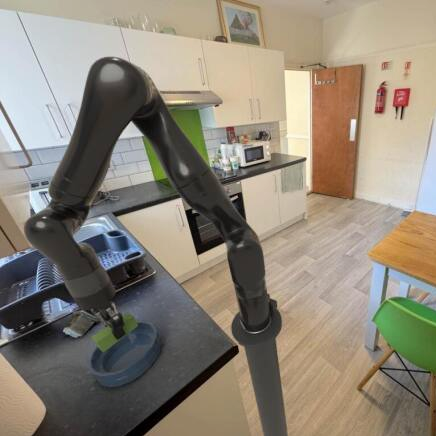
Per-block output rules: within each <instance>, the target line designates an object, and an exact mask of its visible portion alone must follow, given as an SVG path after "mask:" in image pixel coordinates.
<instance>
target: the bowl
mask: <svg viewBox="0 0 436 436" xmlns="http://www.w3.org/2000/svg"><path fill="white" fill-rule="evenodd" d="M136 322H137V324H138V326H137V327H136V328H135V329H133V330H132V331H131V332H129V333H128V334H127V335H125V336H124V337H123V338H122V339H120V340H119V341H118V342H116V343H115V344H114V345H112V346H111V347H110V348H109V349H107V350H106V351H105V352H102V351H101V350H100V349H99V348H98V347H97V345H96V346H95V347H94V348H93V350H92V351H91V353H90V355H89V359H88V362H87V365H88V369H89V372H90V373H91V375H92V376H93V378H94V379H95V380H96V381H97V382H98V384H99V385H100V386H103V387H107V388H115V387H121V386H123V385H126V384H128V383H131V382H133V381H134V380H136V379H137V378H139V377H140V376H142V375H143V374H144V373H145V372H146V371H148V370H149V369H150V368H151V367H152V365H154V363H155V361H156V360H157V359H158V357H159V355H160V353H161V350H162V339H161V337H160V335H159V333H158V330H157V328H156V326H155V325H154V324H153V323H151V322H149V321H144V320H142V321H136Z"/></svg>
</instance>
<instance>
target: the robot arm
mask: <svg viewBox="0 0 436 436" xmlns="http://www.w3.org/2000/svg"><path fill="white" fill-rule="evenodd" d="M84 84H85V85H84V88H83V94H82V99H81V102H80V103H81V104H80V108H79V111H78V116H77V119H76V122H75V125H74V128H73V131H72V134H71V137H70V139H69V142H68V145H67V147H66V149H65V152H64V154H63V156H62V157H61V160H60V162H59V164H58V166H57V168H56V170H55V172H54V174H53V176H52V178H51V180H50V182H49V185H48V189H47V190H48V191H47V193H48V195H49V197H50V201H49V202H48V204H47V205H46V207H44V208H43V209H42V210H40V211H38V212H36V213H35V214H33V215H31V216H29V217H28V218H27V219H26V220H25V222H24V224H23V234H24V237H25V239H26V240H27V241H26V242H28V244H30V246H32V248H34V249H35V250H36V251H38V253H40V254H41V255H42V256H44V257H45V258H46V259H47V260H48V261H50V262H51V263H52V264H53V265H54V266H55V269H56V270H57V272H58V273H59V275H60V277H61V278H62V280H63V283H64V286H65V288H66V289H67V291H68V293H69V294H70V296H71V298H72V299H73V301H74V302H75V304H76V306H77V307H78V309H79V310H80V311H81V310H84V311H90V312H91V313H92V315H93V316H95V317H96V318H97V319H98V320H100V321H99V322H100V324H102V325H103V326H104V328H105V327H107V326H108V327H109V330H110V331H111V332H112V333H113V335H114V337H115V339H117V340H119V339H120V338H122V337H123V336H124V335H125V331H124V330H123V328H122V327H123V326H125V325H124V321H123V317H122V315H123V314H122V313H121V312H118V310H117V306H116V305H115V302H113V301H112V300H113V299H114V297H115V296H116V293H117V291H116V288H115V286H114V284H113V282H112V280H111V278H110V276H109V275H108V273H107V270H106V269H105V267H104V266H103V265H102V263H101V261H100V259H99V257H98V255H97V253H96V251H95V249H94V248H93V247H92V245H91V244H90V243H87V242H77V241H76V239H75V238H74V235H75V234H76V233H78V231H80V230H81V229H82V227H83V226H84V225H85V223H86V221H87V219H88V217H89V214H90V211H91V207H92V203H93V201H94V199H95V198H96V196H97V194H98V192H99V191H100V188H101V187H102V185H103V183H104V181H105V179H106V177H107V174H108V171H109V168H110V164H111V160H112V156H113V152H114V150H115V147H116V145H117V143H118V141H119V139H120V138H121V136H122V134H123V132H124V131H125V130H126V128H127V127H128V126H129V124H130V123H132V124H133V125H134V127H136V129H137V130H138V131H139V132H140V133H141V135H142V136H143V137H144V138H145V140H147V142H148V144H149V146H150V147H151V148H152V150H153V152H154V154H155V156H156V158H157V160H158V163H159V165H160V167H161V169H162V171H163V173H164V175H165V177H166V178H167V180H168V181H169V183H170V185H171V186H172V187H173V189H174V190H175V191H176V193H178V195H179V196H180V197H181V199H182V200H183V201H184V202H185V204H187V205H188V207H190V208H191V209H192V210H193V211H194V212H196V213H197V214H199V215H200V216H202V217H203V218H205V219H206V220H207V221H209V222H210V223H211V224H212V225H213V226H214V228H215V229H216V230H217V232H218V233H219V235H220V237H221V238H222V240H223V241H224V243H225V246H226V248H225V249H226V258H227V265H228V268H229V272H230V276H231V280H232V283H233V287H234V288H233V289H234V292H235V297H236V301H237V302H236V303H237V306H238V312H240V316H241V321H242V322H241V321H240V322H241V324H242V327H243V330H244V331H245V332H246V333H248V334H252V335H256V334H260V333H263V332H264V331H266V330H267V329H268V328H269V326H270V324H271V317H272V312H274V311H275V310H276V308H277V309H278V301H277V300H276V299H273V298H272V297H271V295H270V294H269V293H268V287H267V282H266V265H265V256H264V250H263V246H262V243H261V241H260V237H259V236H258V233H256V231H255V230H254V229H253V228H252V226H251V225H250V224H249V223H248V222H247V221H246V220H245V218H244V217H243V216H242V215H241V214H240V212H239V211H238V210H237V209H236V206H235V205H234V203H233V201H232V200H231V198H230V196H229V194H228V192H227V190H226V189H225V187H224V186H223V185H222V183H221V181H220V179H219V177H218V176H217V175H216V174H215V172H214V170H213V169H212V167H211V166H210V165H209V163H208V162H207V161H206V159H205V158H204V156H203V155H202V154H201V153H200V151H199V150H198V149H197V148H196V146H195V145H194V143H193V142H192V141H191V140H190V138H189V137H188V136H187V135H186V134H185V132H184V131H183V129H181V127H180V125H179V124H178V122H177V121H176V119H175V118H174V116H173V114H172V113H171V111H170V109H169V107H168V106H167V103H166V102H165V101H164V99H163V96H162V95H161V93H160V90H159V89H158V87H157V86H156V84H155V81H154V80H153V79H152V78H151V77H150V75H149V74H148V73H147V72H146V71H145V70H144V69H142V67H140V66H138V65H136V64H135V63H133V62H131V61H129V60H127V59H124V58H121V57H117V56H103V57H100V58H97V59H96V60H95V61H94V62H92V64H91V65H90V67H89V70H88V72H87V76H86V80H85V83H84Z"/></svg>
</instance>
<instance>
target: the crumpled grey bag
mask: <svg viewBox="0 0 436 436" xmlns="http://www.w3.org/2000/svg"><path fill="white" fill-rule="evenodd" d="M72 316H73V318H72V320H70V322H69V323H67V324H66V325H65V327H64V328H63V330H62V333H65V334H64V335H65V337H68V336H71V338H75V339H76V338H77V339H78V338H79V337H83V336H84V335H85V334H86V333H87V331H89V329H90V328H91V327H92V326H93V325H94V324H95V323H99V322H101V321H100V320H98V319H97V318H96V317H95V315H94V314H91V313H89V312H87V310H81V309H80V310H77V311H72Z"/></svg>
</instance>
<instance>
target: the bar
mask: <svg viewBox="0 0 436 436" xmlns="http://www.w3.org/2000/svg"><path fill="white" fill-rule="evenodd" d="M122 317H123V321H124V325H125V326H123V327H122V328H123V330H124V331H125V335H127V334H128V333H129V332H131V331H132V330H133V329H135V328H136V327H137V326H138V324H137V322H138V321H137V320H136V319H135V316H134V315H133V314H132V313H130V312H128V311H127V312H125V313H124V314H122ZM125 335H124V336H125ZM124 336H123V337H124ZM123 337H122V338H123ZM90 338H91V340H92V341H93V342H94V344H95V345H96V346H97V347H98V348H99V349H100V350H101V351H102V352H105V351H106V350H107V349H109V348H110V347H111V346H112V345H114V344H115V343H116V342H118V341H119V340H120V339H122V338H120V339H119V340H117V339H115V337H114V335H113V333H112V332H111V331H110V330H109V327H108V326H107V327H105V326H104V328H103V329H101V330H99V331H98V332H97V333H95V334H93V336H91V337H90Z"/></svg>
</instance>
